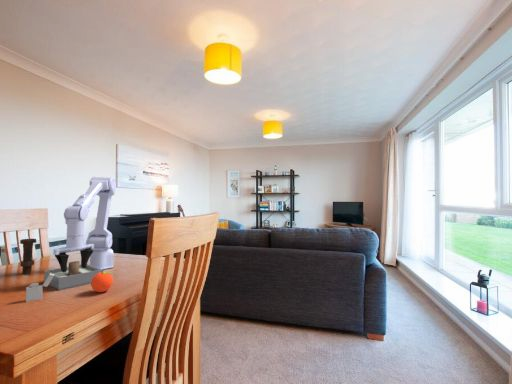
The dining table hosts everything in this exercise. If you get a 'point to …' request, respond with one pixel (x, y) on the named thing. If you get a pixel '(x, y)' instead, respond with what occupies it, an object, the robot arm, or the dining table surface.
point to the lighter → (37, 289)
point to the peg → (73, 268)
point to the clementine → (102, 282)
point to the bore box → (71, 277)
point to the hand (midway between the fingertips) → (74, 269)
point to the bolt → (27, 255)
